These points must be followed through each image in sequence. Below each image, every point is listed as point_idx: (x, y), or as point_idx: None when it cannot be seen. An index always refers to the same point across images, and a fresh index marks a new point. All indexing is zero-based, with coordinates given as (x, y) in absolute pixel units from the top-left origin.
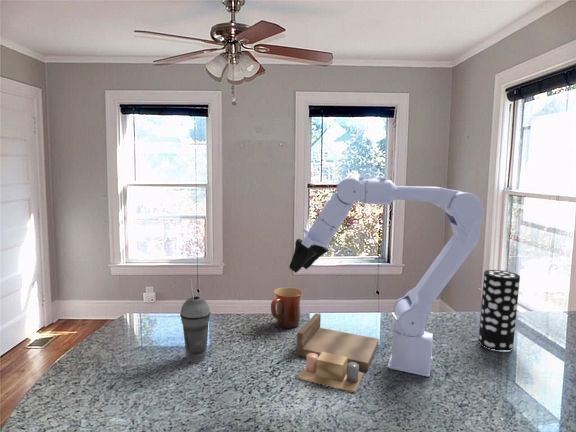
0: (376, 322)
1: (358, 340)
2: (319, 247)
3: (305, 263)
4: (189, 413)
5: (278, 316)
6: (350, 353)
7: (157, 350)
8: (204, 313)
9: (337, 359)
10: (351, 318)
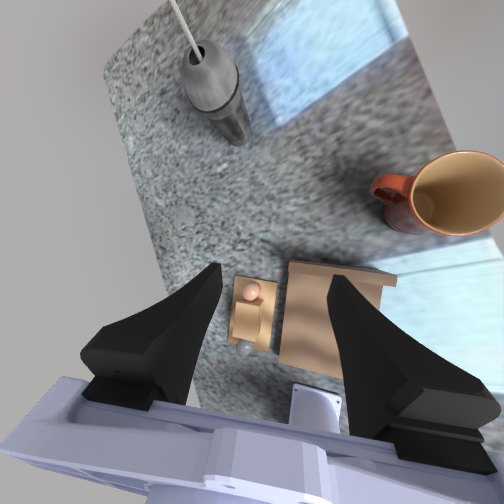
0: (486, 384)
1: None
2: (365, 425)
3: (333, 300)
4: (154, 194)
5: (377, 198)
6: (298, 338)
7: (241, 70)
8: (200, 106)
9: (244, 329)
10: (494, 331)
